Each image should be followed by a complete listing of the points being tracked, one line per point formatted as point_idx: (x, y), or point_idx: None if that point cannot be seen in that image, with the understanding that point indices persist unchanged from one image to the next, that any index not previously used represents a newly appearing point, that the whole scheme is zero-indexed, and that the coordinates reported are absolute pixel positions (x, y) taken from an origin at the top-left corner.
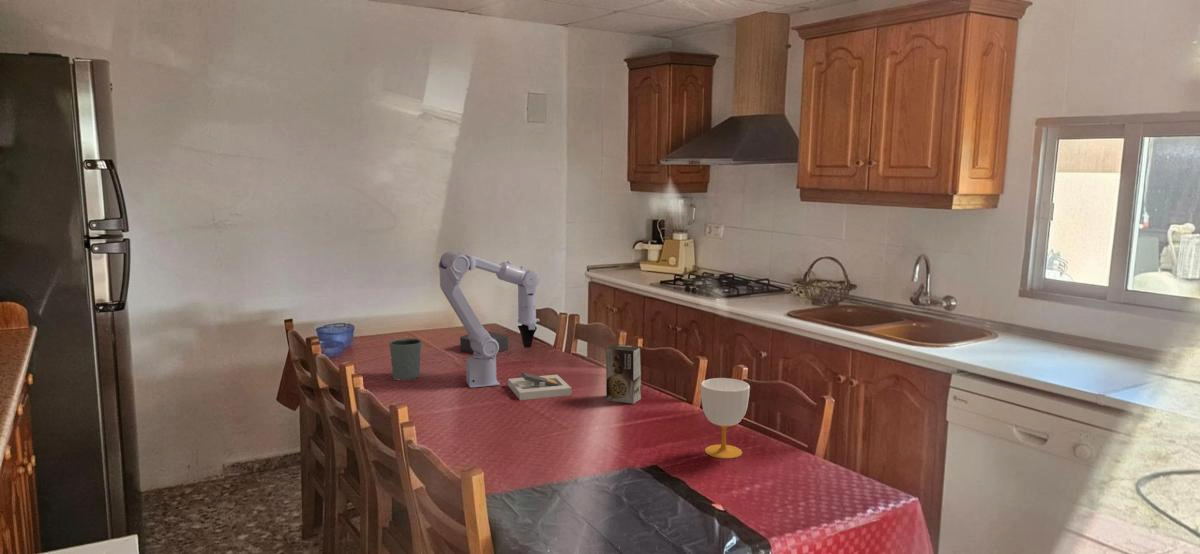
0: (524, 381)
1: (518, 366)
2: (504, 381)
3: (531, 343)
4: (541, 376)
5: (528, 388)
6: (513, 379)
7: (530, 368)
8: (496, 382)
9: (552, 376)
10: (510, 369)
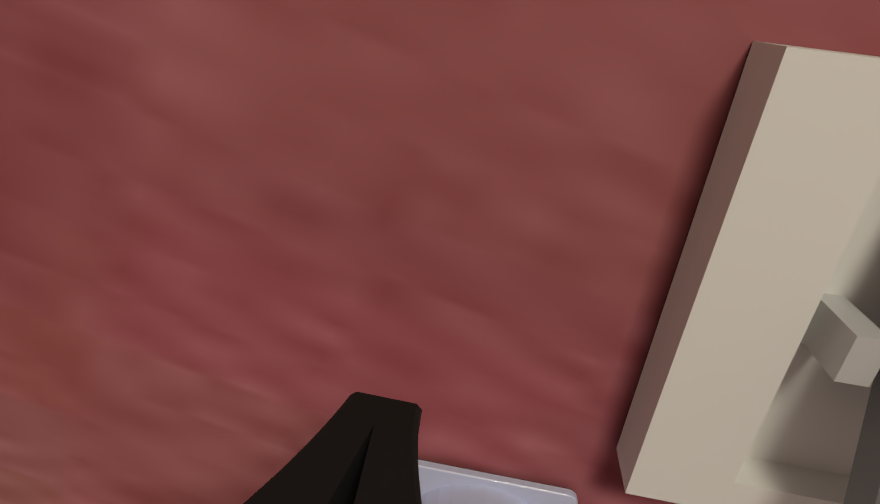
0: (759, 416)
1: (78, 172)
2: (483, 424)
3: (415, 449)
4: (738, 241)
5: (863, 407)
6: (669, 473)
7: (165, 99)
8: (531, 501)
9: (825, 135)
10: (162, 265)
